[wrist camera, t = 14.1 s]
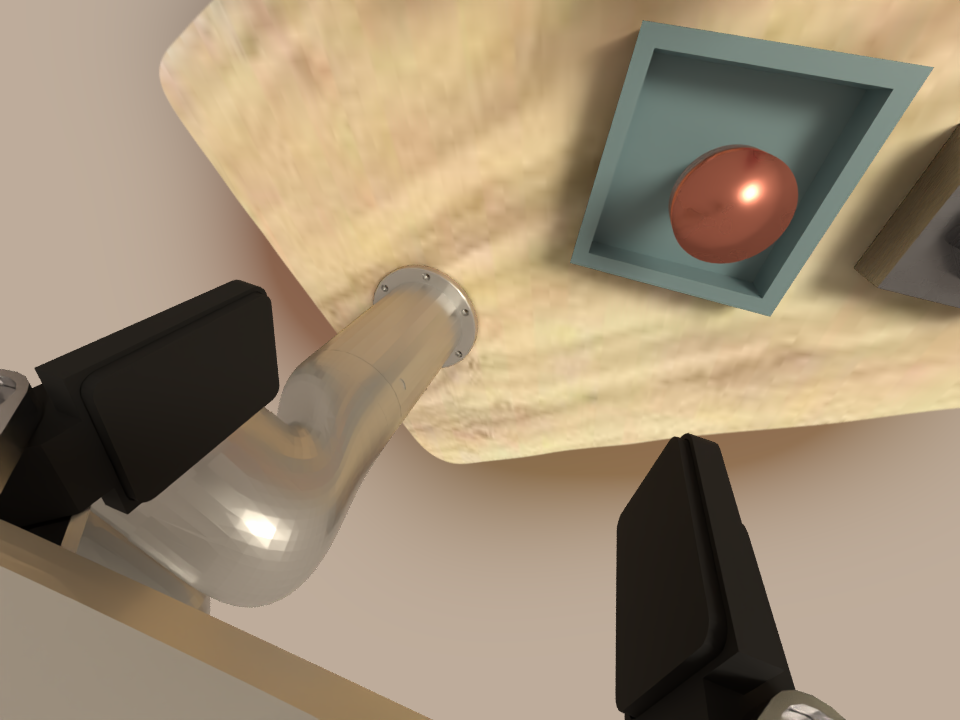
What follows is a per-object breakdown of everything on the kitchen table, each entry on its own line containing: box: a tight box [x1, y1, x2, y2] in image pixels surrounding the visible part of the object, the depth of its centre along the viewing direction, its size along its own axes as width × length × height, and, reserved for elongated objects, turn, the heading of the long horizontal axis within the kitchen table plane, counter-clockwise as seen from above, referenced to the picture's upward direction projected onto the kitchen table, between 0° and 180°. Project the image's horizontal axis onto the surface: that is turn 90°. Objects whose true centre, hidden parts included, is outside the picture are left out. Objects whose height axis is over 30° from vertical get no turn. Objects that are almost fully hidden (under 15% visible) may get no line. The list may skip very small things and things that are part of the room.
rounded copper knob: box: [668, 144, 798, 264], centre depth 27 cm, size 6×6×11 cm
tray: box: [570, 20, 934, 316], centre depth 30 cm, size 16×16×4 cm
